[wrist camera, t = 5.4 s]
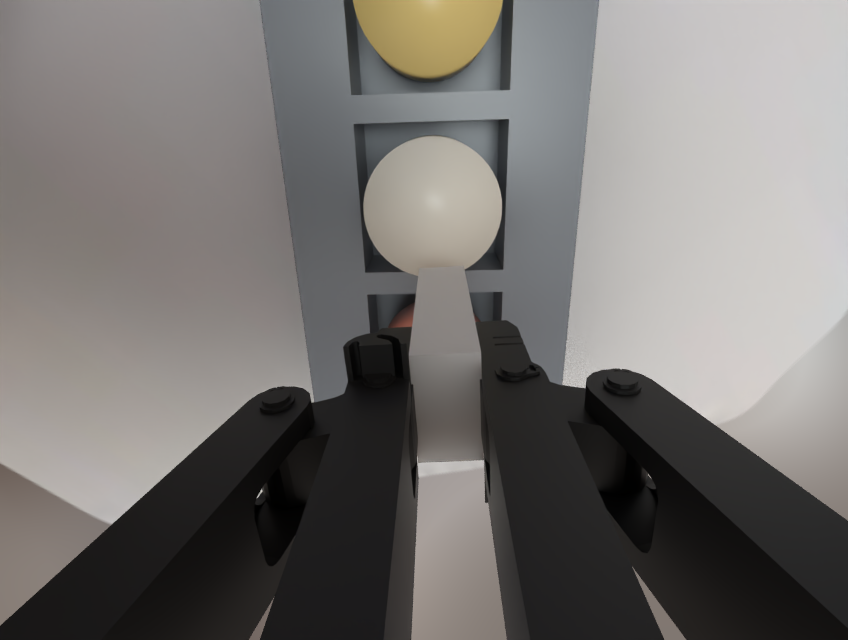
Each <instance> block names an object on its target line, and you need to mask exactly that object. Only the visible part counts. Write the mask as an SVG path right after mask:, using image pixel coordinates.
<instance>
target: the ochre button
mask: <svg viewBox="0 0 848 640" xmlns="http://www.w3.org/2000/svg"><path fill="white" fill-rule="evenodd" d="M353 3H354V8H355V12H356V15H357V18H358V21H359V24H360V26H361V28H362V30H363V32H364V34H365V36H366V37H367V39H368V40H369V42H370V43H371V45H372V46H373V47H374V49H375V50H376V51H377V53H378V54H379V55H380V57H381V58H382V59H383V60H384V61H385V63H386V64H387V65H389V66H390V67H391V68H392V69H393V70H394V71H396V72H397V73H399V74H400V75H402V76H404V77H406V78H409V79H412V80H415V81H421V82H436V81H441V80H445V79H448V78H450V77H453V76H455V75H456V74H458V73H460V72H461V71H463V70H464V69H465V68H466V67H468V66H469V65H470V64H471V63H472V62H473V61H474V59H475V58H476V57H477V55H478V54H479V53H480V51H481V50H482V48H483V46H484V45H485V43H486V42H487V40H488V39H489V37H490V35H491V33H492V32H493V30H494V28H495V25H496V23H497V21H498V18H499V15H500V12H501V8H502V3H503V0H353Z"/></svg>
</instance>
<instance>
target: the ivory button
mask: <svg viewBox="0 0 848 640" xmlns="http://www.w3.org/2000/svg"><path fill="white" fill-rule="evenodd" d="M363 207H364V220H365V224H366V228H367V231H368V234H369V236H370V238H371V240H372V242H373V244H374V246H375V247H376V248H377V250H378V251H379V252H380V254H381V255H382V256H383V257H384V258H385V259H386V260H387V261H389V262H390V263H391V264H392V265H394V266H395V267H397V268H399V269H400V270H402V271H405V272H407V273H409V274H413V275H416V276H418V273H419V268H433V267H450V266H464V269H466V268H468V267H470V266H471V265H473V264H474V263H475V262H476V261H478V260H479V259H480V258H481V257H482V256H483V255H484V254H485V253H486V251H487V250H488V249H489V247H490V246H491V244H492V243H493V241H494V239H495V237H496V235H497V232H498V229H499V226H500V222H501V216H502V198H501V192H500V188H499V185H498V182H497V179H496V177H495V175H494V173H493V171H492V170H491V168H490V167H489V165H488V164H487V163H486V161H485V160H484V159H483V158H482V157H481V156H480V155H479V154H478V153H477V152H475V151H474V150H472V149H471V148H470V147H468V146H467V145H465V144H463V143H461V142H459V141H457V140H455V139H452V138H449V137H446V136H440V135H427V136H421V137H416V138H414V139H411V140H408V141H407V142H405V143H403V144H401V145H400V146H398V147H396V148H395V149H393V150H392V151H391V152H390V153H388V154H387V155H386V156H385V157H384V158H383V159H382V160H381V161H380V162H379V164H378V165H377V166H376V168H375V169H374V171H373V173H372V175H371V176H370V179H369V181H368V184H367V187H366V191H365V195H364V203H363Z"/></svg>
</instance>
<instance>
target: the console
mask: <svg viewBox="0 0 848 640" xmlns="http://www.w3.org/2000/svg"><path fill="white" fill-rule="evenodd" d="M259 1H260V8H261V15H262V23H263V30H264V37H265V44H266V52H267V59H268V66H269V74H270V81H271V88H272V96H273V103H274V110H275V117H276V125H277V132H278V139H279V147H280V154H281V161H282V168H283V176H284V183H285V190H286V198H287V205H288V212H289V220H290V227H291V234H292V241H293V249H294V256H295V263H296V271H297V278H298V285H299V293H300V300H301V307H302V314H303V322H304V329H305V336H306V344H307V351H308V358H309V365H310V373H311V380H312V387H313V395H314V402H318V401H323V400H327V399H331V398H334V397H337V396H340V395H342V394H344V392H345V389H346V386H347V383H348V378H347V371H346V365H345V358H344V351H343V346H344V345H345V344H346V343H347V341H349V340H351V339H353V338H355V337H357V336H361V335H364V334H368V333H376V332H378V331H379V330H380V329H382V328H388V326H389V324H390V322H391V321H392V319H393V318H394V317H395V316H396V315H397V314H398V313H399V312H400V311H401V310H402V309H404V308H405V307H407V306H408V305H410V304H412V303H415V298H416V290H417V282H418V276H416V275H413V274H409V273H407V272H405V271H402V270H400V269H399V268H397V267H395V266H394V265H392V264H391V263H390V262H389V261H387V260H386V259H385V258H384V257H383V256H382V255H381V254H380V252H379V251H378V250H377V248H376V247H375V246H374V244H373V242H372V240H371V238H370V236H369V234H368V231H367V228H366V224H365V220H364V207H363V203H364V195H365V191H366V187H367V184H368V181H369V179H370V176H371V175H372V173H373V171H374V169H375V168H376V166H377V165H378V164H379V162H380V161H381V160H382V159H383V158H384V157H385V156H386V155H387V154H388V153H390V152H391V151H392V150H393V149H395V148H396V147H398V146H400V145H401V144H403V143H405V142H407V141H408V140H411V139H414V138H416V137H421V136H427V135H440V136H446V137H449V138H452V139H455V140H457V141H459V142H461V143H463V144H465V145H467V146H468V147H470V148H471V149H472V150H474V151H475V152H477V153H478V154H479V155H480V156H481V157H482V158H483V159H484V160H485V161H486V163H487V164H488V165H489V167H490V168H491V170H492V171H493V173H494V175H495V177H496V179H497V182H498V185H499V188H500V192H501V198H502V216H501V222H500V226H499V229H498V232H497V235H496V237H495V239H494V241H493V243H492V244H491V246H490V247H489V249H488V250H487V251H486V253H485V254H484V255H483V256H482V257H481V258H480V259H479V260H478V261H476V262H475V263H474V264H473V265H471V266H470V267H468V268H466V269H464V270H465V275H466V280H467V285H468V290H469V294H470V299H471V304H472V309H473V313H474V314H475V315H476V316H477V317H478V318H479V320H480V321H481V322H483V321H501V320H507V321H509V322H510V323H512V324H514V325H515V326H517V327H518V330H519V332H520V335H521V337H522V339H523V342H524V344H525V347H526V349H527V352H528V354H529V357H530V359H531V361H532V362H533V363H535V364H537V365H539V366H541V367H542V368H543V369H544V371H545V372H546V374H547V376H548V379H549V381H550V382H553V383H556V384H559V385H562V381H563V370H564V360H565V349H566V339H567V329H568V318H569V308H570V297H571V287H572V277H573V266H574V256H575V246H576V235H577V225H578V214H579V204H580V194H581V183H582V173H583V162H584V152H585V142H586V131H587V121H588V110H589V100H590V90H591V79H592V69H593V58H594V48H595V38H596V27H597V17H598V6H599V0H503V3H502V8H501V12H500V15H499V18H498V21H497V23H496V25H495V28H494V30H493V32H492V33H491V35H490V37H489V39H488V40H487V42H486V43H485V45H484V46H483V48H482V50H481V51H480V53H479V54H478V55H477V57H476V58H475V59H474V61H473V62H472V63H471V64H470V65H469V66H468V67H466V68H465V69H464V70H463V71H461V72H460V73H458V74H456V75H455V76H453V77H450V78H448V79H445V80H441V81H436V82H421V81H415V80H412V79H409V78H406V77H404V76H402V75H400V74H399V73H397V72H396V71H394V70H393V69H392V68H391V67H390V66H389V65H387V64H386V63H385V61H384V60H383V59H382V58H381V57H380V55H379V54H378V53H377V51H376V50H375V49H374V47H373V46H372V45H371V43H370V42H369V40H368V39H367V37H366V36H365V34H364V32H363V30H362V28H361V26H360V24H359V21H358V18H357V15H356V12H355V8H354V3H353V0H259Z"/></svg>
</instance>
